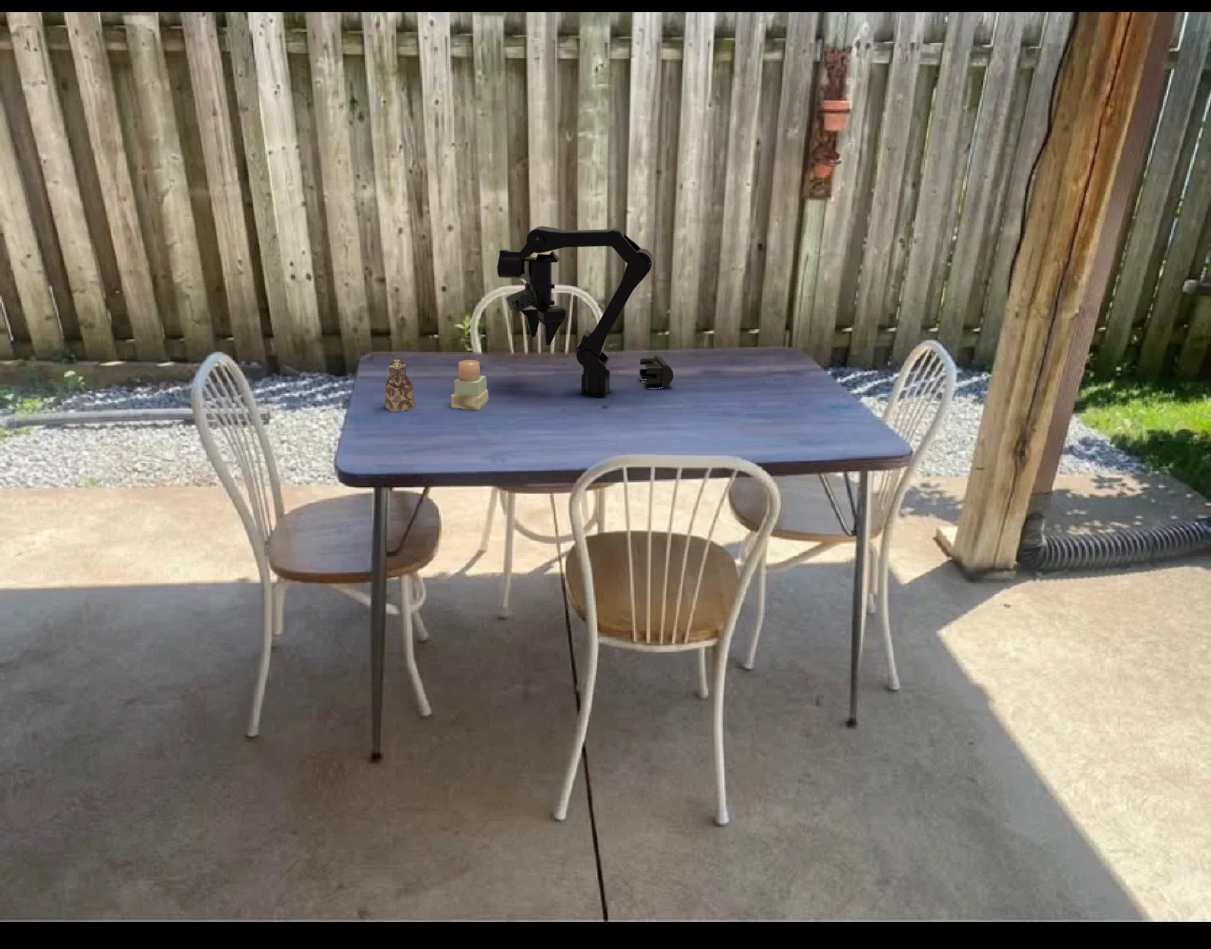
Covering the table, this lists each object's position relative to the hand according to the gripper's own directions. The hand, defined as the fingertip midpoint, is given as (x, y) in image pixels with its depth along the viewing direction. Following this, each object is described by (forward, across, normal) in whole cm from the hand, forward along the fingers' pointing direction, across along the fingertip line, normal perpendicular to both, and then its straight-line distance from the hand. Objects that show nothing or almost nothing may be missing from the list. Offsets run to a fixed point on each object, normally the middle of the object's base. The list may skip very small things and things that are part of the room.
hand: (540, 341), depth 223 cm
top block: (+10, +4, -21) cm, 23 cm away
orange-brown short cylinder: (+6, +4, -21) cm, 22 cm away
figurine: (+13, -1, -37) cm, 39 cm away
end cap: (+13, +8, +30) cm, 34 cm away
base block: (+13, +4, -21) cm, 25 cm away
